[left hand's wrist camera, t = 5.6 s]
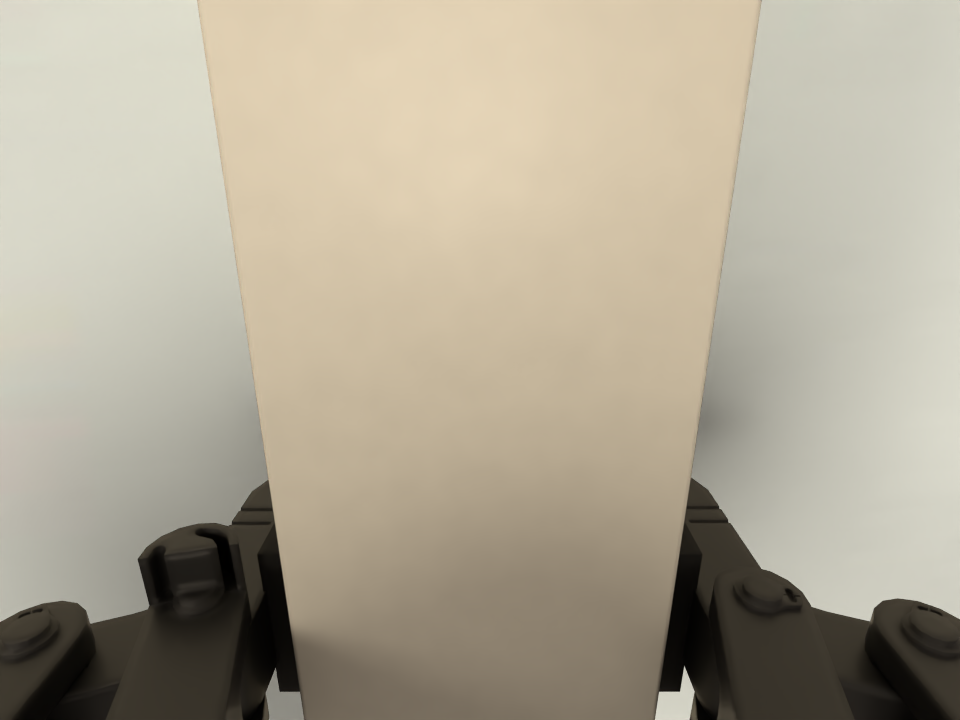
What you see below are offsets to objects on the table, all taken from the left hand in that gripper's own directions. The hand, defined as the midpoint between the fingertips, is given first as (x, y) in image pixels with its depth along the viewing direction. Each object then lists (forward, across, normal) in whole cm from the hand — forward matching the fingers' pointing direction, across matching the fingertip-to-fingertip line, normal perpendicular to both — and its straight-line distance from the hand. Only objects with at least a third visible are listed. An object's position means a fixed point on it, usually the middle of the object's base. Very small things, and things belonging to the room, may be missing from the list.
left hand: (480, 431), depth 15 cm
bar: (+1, 0, -22) cm, 22 cm away
